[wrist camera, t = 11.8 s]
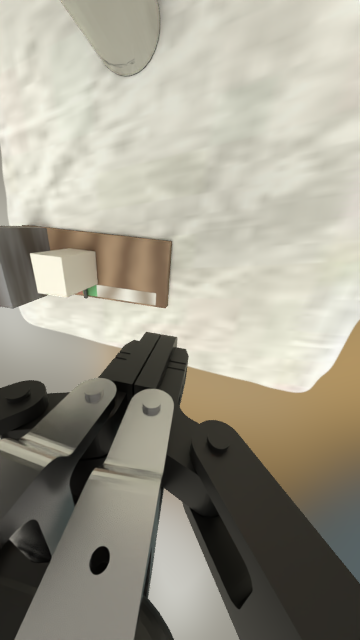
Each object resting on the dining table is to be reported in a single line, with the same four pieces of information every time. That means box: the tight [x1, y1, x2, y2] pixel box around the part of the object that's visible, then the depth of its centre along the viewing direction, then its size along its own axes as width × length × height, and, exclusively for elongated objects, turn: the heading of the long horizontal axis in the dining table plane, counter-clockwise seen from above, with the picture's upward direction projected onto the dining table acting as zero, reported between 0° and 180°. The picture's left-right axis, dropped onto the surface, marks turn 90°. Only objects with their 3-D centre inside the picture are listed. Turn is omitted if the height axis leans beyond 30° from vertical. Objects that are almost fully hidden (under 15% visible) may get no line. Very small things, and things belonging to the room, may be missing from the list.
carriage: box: [30, 248, 98, 298], centre depth 35 cm, size 7×9×9 cm
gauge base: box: [0, 225, 172, 308], centre depth 35 cm, size 28×12×12 cm, turn 85°
